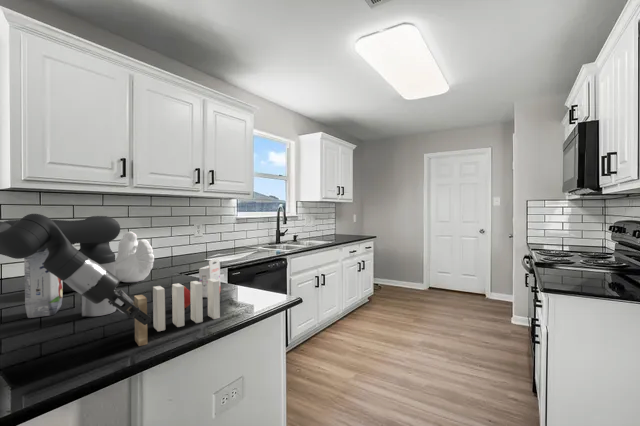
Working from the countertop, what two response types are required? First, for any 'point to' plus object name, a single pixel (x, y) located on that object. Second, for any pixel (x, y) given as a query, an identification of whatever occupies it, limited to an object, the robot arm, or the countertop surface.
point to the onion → (186, 297)
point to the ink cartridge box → (209, 275)
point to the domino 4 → (213, 298)
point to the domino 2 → (178, 304)
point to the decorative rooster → (133, 258)
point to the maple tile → (139, 327)
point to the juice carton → (41, 287)
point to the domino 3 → (196, 301)
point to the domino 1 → (159, 308)
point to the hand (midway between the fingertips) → (144, 317)
